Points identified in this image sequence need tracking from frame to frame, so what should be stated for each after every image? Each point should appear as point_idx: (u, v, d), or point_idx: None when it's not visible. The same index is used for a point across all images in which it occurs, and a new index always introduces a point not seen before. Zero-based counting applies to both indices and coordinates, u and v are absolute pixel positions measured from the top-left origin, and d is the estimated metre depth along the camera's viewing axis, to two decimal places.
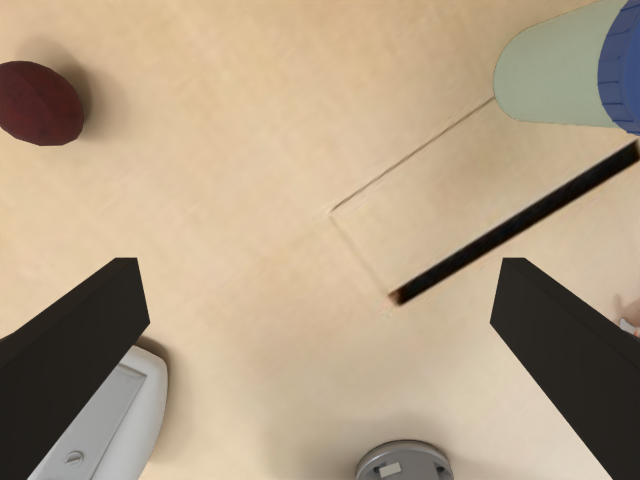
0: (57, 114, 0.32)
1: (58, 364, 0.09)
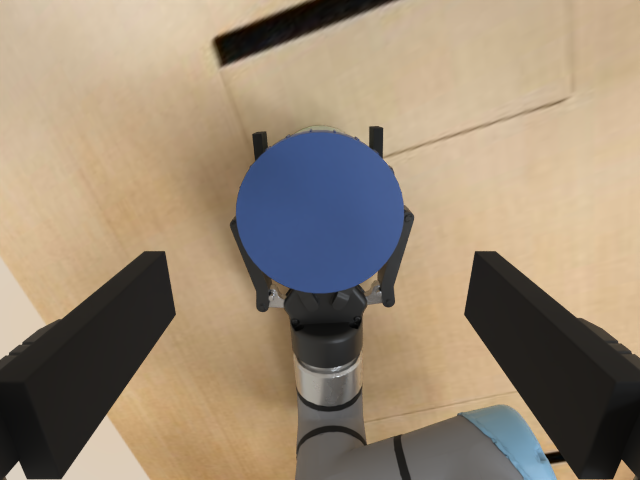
0: None
1: (102, 349, 0.09)
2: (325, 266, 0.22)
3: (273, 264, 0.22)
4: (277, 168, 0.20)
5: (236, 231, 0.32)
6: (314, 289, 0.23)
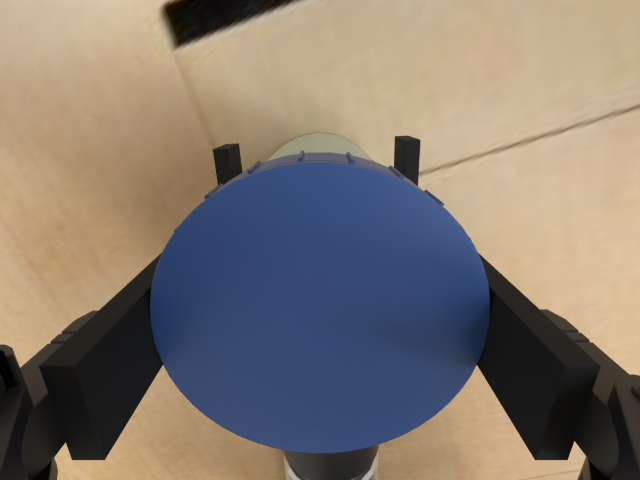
0: None
1: (137, 338, 0.10)
2: (330, 411, 0.11)
3: (230, 408, 0.11)
4: (230, 238, 0.09)
5: None
6: (309, 447, 0.12)
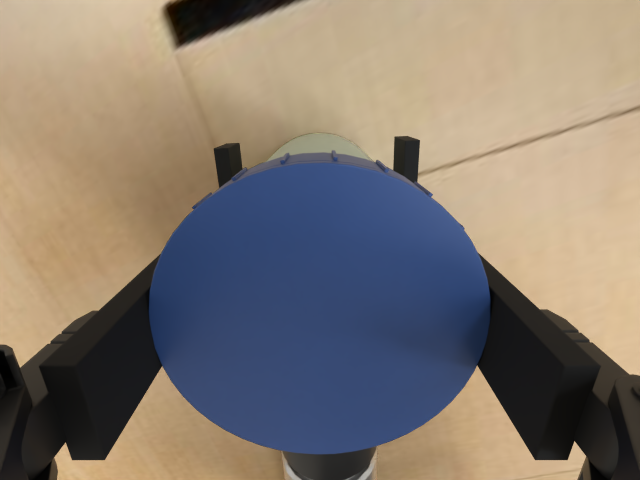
0: None
1: (137, 338, 0.10)
2: (414, 286, 0.10)
3: (444, 372, 0.11)
4: (267, 420, 0.12)
5: None
6: (478, 284, 0.10)
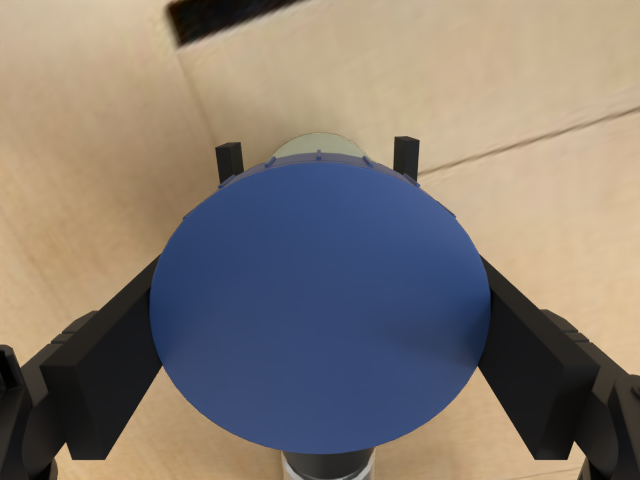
0: None
1: (137, 338, 0.10)
2: (228, 281, 0.10)
3: (307, 198, 0.09)
4: (449, 338, 0.10)
5: None
6: (193, 226, 0.09)
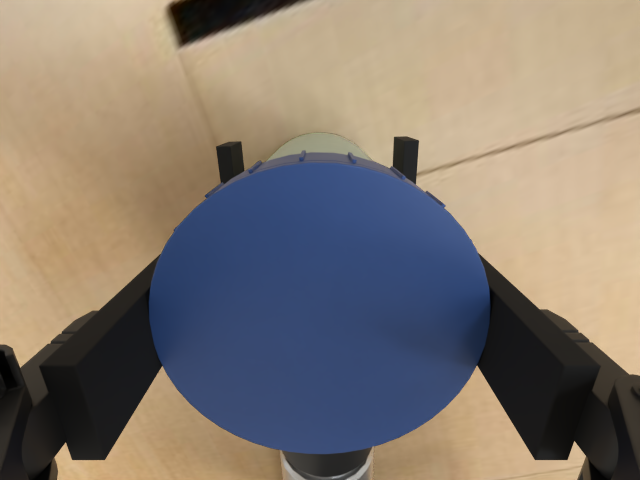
0: None
1: (137, 338, 0.10)
2: (303, 412, 0.11)
3: (205, 386, 0.11)
4: (263, 218, 0.09)
5: None
6: (271, 442, 0.12)
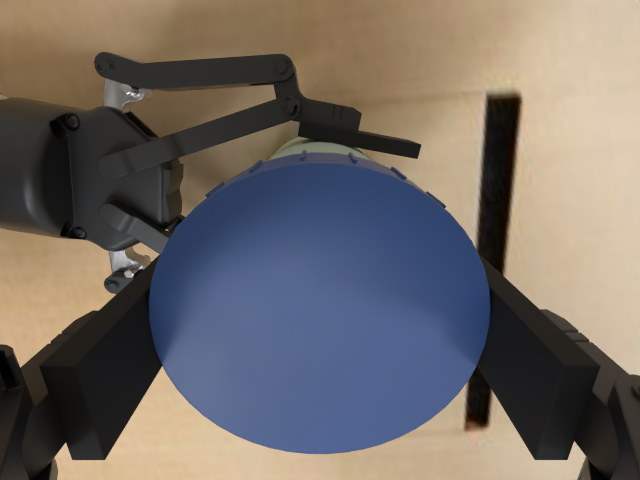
0: None
1: (137, 338, 0.10)
2: (302, 411, 0.11)
3: (204, 386, 0.11)
4: (264, 218, 0.09)
5: (270, 63, 0.17)
6: (270, 442, 0.12)
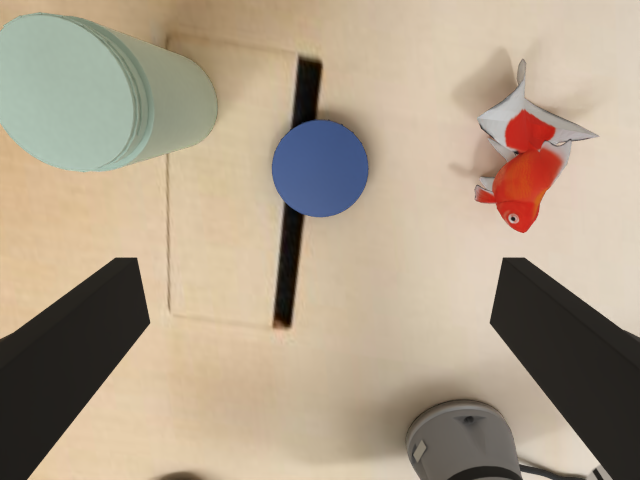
0: None
1: (58, 364, 0.09)
2: (315, 199, 0.37)
3: (286, 190, 0.37)
4: (305, 135, 0.35)
5: None
6: (304, 212, 0.38)
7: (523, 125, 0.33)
